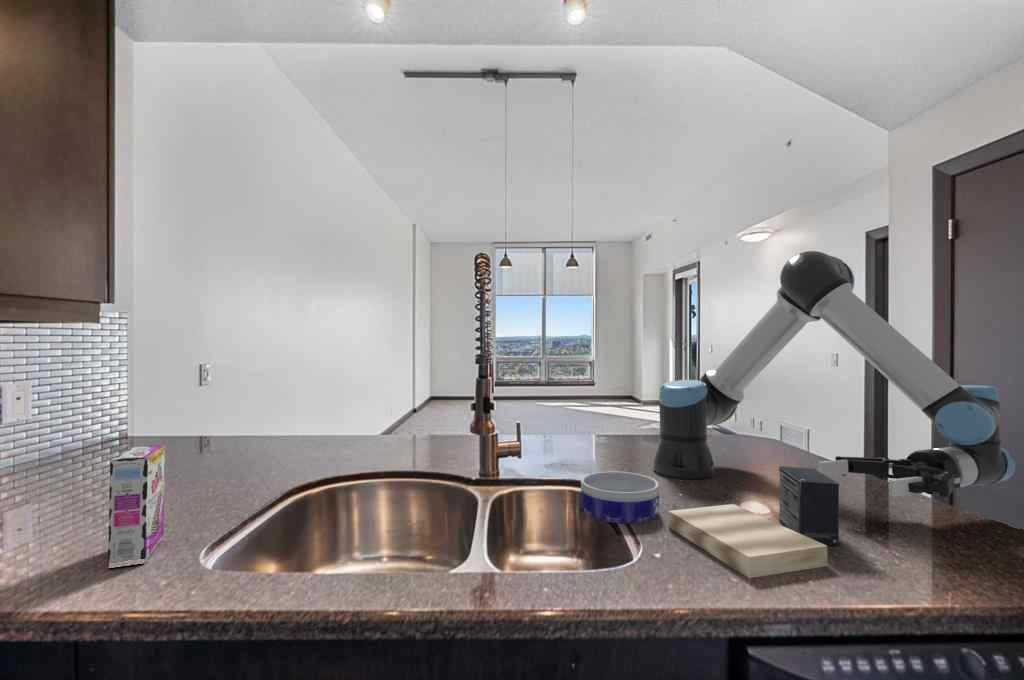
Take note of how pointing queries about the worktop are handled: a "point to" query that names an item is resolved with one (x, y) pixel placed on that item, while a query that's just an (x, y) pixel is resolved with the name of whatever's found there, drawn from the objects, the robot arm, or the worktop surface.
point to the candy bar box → (136, 503)
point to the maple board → (747, 540)
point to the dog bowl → (620, 497)
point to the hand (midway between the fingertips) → (852, 478)
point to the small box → (809, 504)
